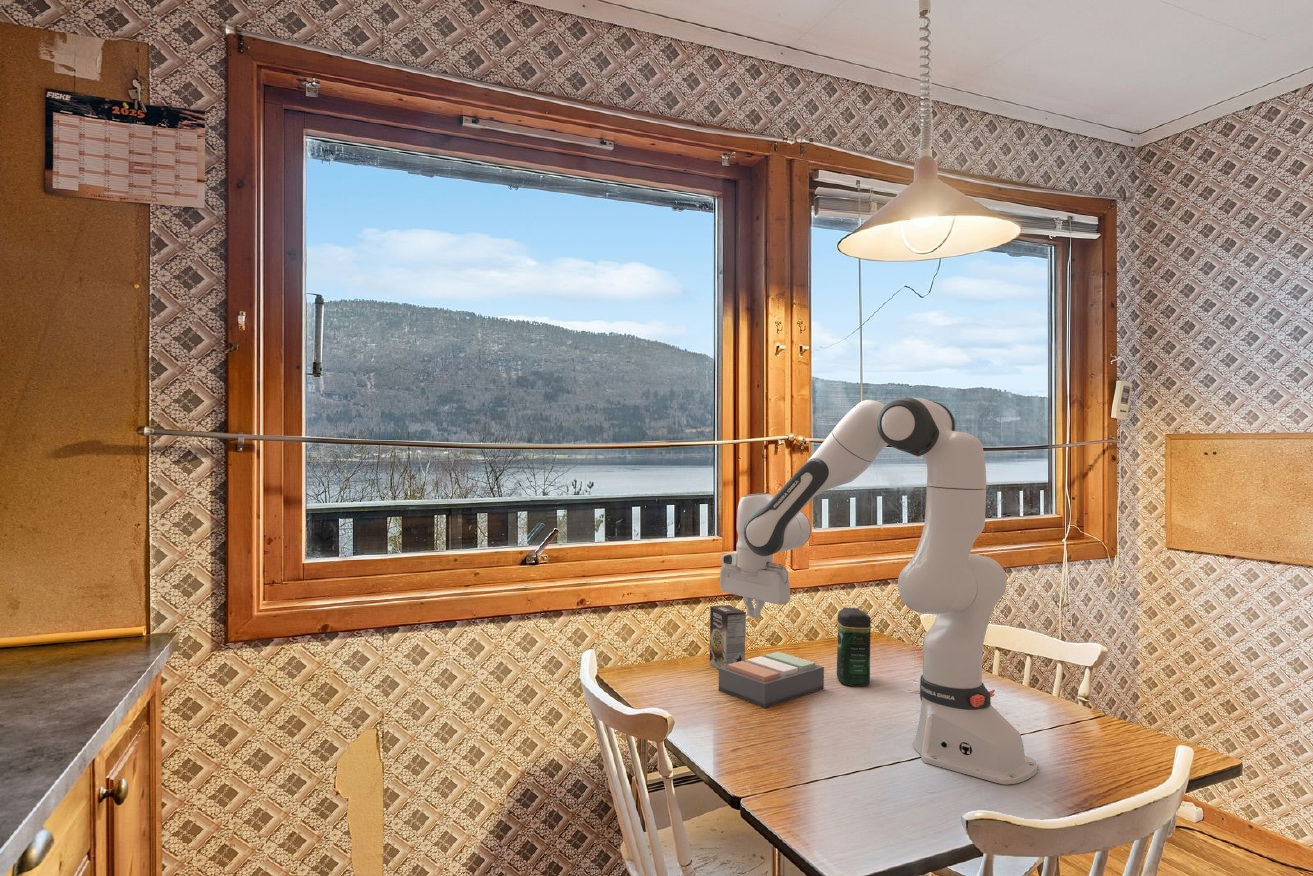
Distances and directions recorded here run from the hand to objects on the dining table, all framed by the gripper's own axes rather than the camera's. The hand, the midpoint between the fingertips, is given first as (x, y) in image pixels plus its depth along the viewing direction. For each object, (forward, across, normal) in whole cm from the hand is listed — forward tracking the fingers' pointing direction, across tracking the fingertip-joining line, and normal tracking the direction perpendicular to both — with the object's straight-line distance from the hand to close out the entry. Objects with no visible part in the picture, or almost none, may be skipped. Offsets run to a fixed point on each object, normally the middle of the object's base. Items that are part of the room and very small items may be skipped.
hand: (753, 616), depth 177 cm
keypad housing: (+19, 0, -7) cm, 20 cm away
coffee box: (+19, +20, -11) cm, 29 cm away
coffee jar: (+19, -8, -29) cm, 36 cm away
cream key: (+16, 0, -7) cm, 17 cm away
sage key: (+16, 0, -14) cm, 21 cm away
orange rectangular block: (+16, 0, 0) cm, 16 cm away
